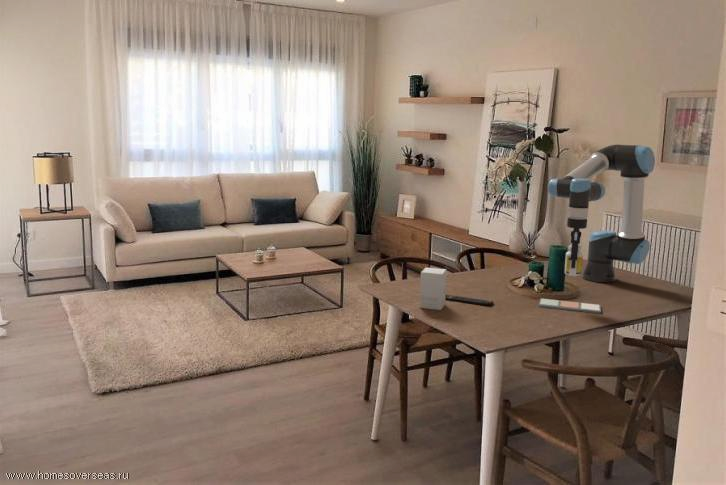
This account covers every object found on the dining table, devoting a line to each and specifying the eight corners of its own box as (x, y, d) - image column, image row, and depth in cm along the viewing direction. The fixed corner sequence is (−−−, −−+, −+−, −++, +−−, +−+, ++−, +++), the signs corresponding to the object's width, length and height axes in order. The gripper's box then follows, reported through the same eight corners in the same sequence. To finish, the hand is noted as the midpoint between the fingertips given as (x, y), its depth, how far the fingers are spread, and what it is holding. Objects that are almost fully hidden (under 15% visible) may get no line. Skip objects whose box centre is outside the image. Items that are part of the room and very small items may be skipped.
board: (540, 300, 271) (540, 297, 271) (600, 306, 263) (600, 304, 263) (538, 306, 262) (538, 304, 261) (600, 313, 254) (601, 311, 254)
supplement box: (445, 304, 262) (447, 269, 259) (441, 310, 254) (442, 274, 251) (424, 301, 265) (425, 266, 262) (418, 307, 257) (420, 271, 254)
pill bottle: (581, 276, 256) (584, 248, 253) (564, 275, 257) (567, 247, 255) (579, 272, 262) (582, 245, 260) (563, 271, 263) (565, 244, 261)
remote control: (439, 296, 275) (439, 293, 275) (494, 304, 265) (494, 301, 265) (435, 299, 270) (435, 296, 270) (491, 308, 260) (491, 304, 260)
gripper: (568, 213, 265) (563, 267, 270) (566, 220, 247) (561, 278, 252) (587, 214, 263) (582, 269, 267) (587, 222, 245) (581, 280, 249)
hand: (572, 273), depth 260 cm, fingers closed on pill bottle, 6 cm apart
